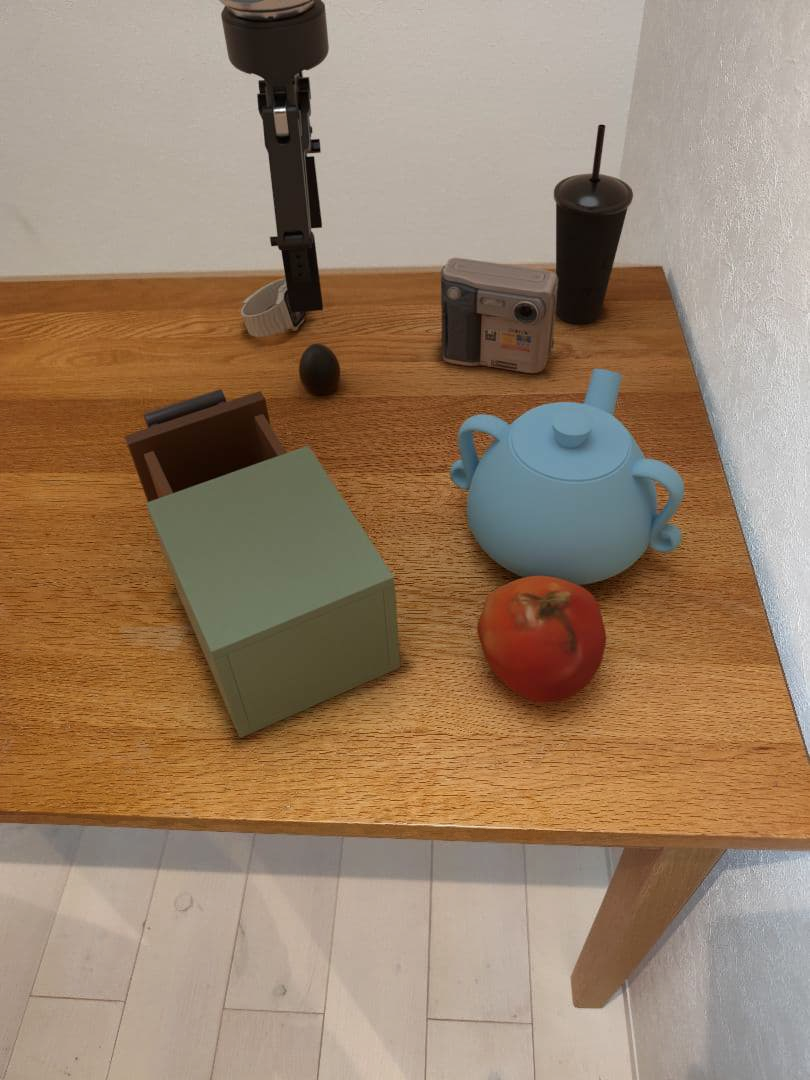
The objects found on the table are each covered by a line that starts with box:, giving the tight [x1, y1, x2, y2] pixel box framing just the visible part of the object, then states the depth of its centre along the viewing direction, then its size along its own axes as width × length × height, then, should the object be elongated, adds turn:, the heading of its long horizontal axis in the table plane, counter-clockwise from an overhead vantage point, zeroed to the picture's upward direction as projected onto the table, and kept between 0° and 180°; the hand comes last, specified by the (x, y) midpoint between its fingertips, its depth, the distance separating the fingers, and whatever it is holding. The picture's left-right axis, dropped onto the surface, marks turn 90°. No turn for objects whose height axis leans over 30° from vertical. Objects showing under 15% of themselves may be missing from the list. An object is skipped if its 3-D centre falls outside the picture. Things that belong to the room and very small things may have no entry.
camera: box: [440, 257, 558, 374], centre depth 89 cm, size 11×6×10 cm, turn 70°
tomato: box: [476, 576, 607, 704], centre depth 64 cm, size 9×9×8 cm
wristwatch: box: [240, 277, 307, 338], centre depth 96 cm, size 9×6×5 cm
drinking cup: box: [553, 124, 634, 325], centre depth 90 cm, size 8×8×20 cm
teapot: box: [449, 368, 685, 586], centre depth 72 cm, size 20×20×13 cm
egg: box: [298, 343, 341, 396], centre depth 88 cm, size 4×4×5 cm
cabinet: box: [145, 445, 401, 739], centre depth 66 cm, size 15×13×11 cm
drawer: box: [124, 388, 288, 503], centre depth 73 cm, size 19×12×9 cm, turn 27°
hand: (307, 265), depth 80 cm, fingers open, 13 cm apart
